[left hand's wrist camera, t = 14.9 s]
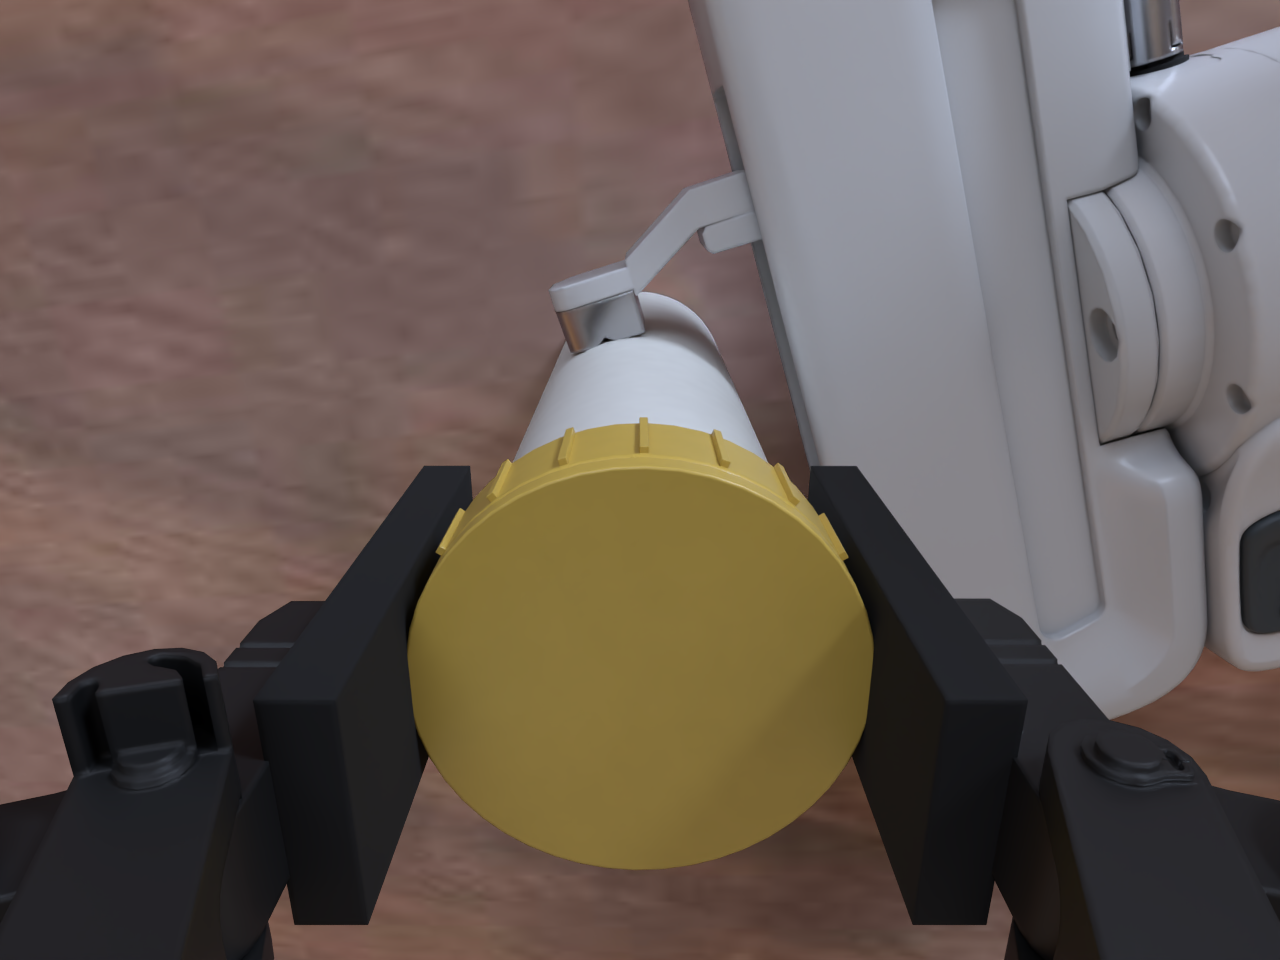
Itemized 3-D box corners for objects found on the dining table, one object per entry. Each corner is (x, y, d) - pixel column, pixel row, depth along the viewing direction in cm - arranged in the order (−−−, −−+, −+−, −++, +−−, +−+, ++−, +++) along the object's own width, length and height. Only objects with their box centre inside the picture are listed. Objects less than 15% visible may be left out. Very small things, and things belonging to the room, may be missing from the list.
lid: (604, 322, 10) (597, 351, 9) (935, 586, 12) (985, 655, 10) (353, 642, 12) (307, 718, 10) (669, 844, 13) (674, 941, 12)
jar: (749, 337, 26) (910, 582, 10) (674, 474, 27) (718, 864, 12) (602, 262, 25) (543, 407, 10) (533, 408, 27) (388, 733, 11)
